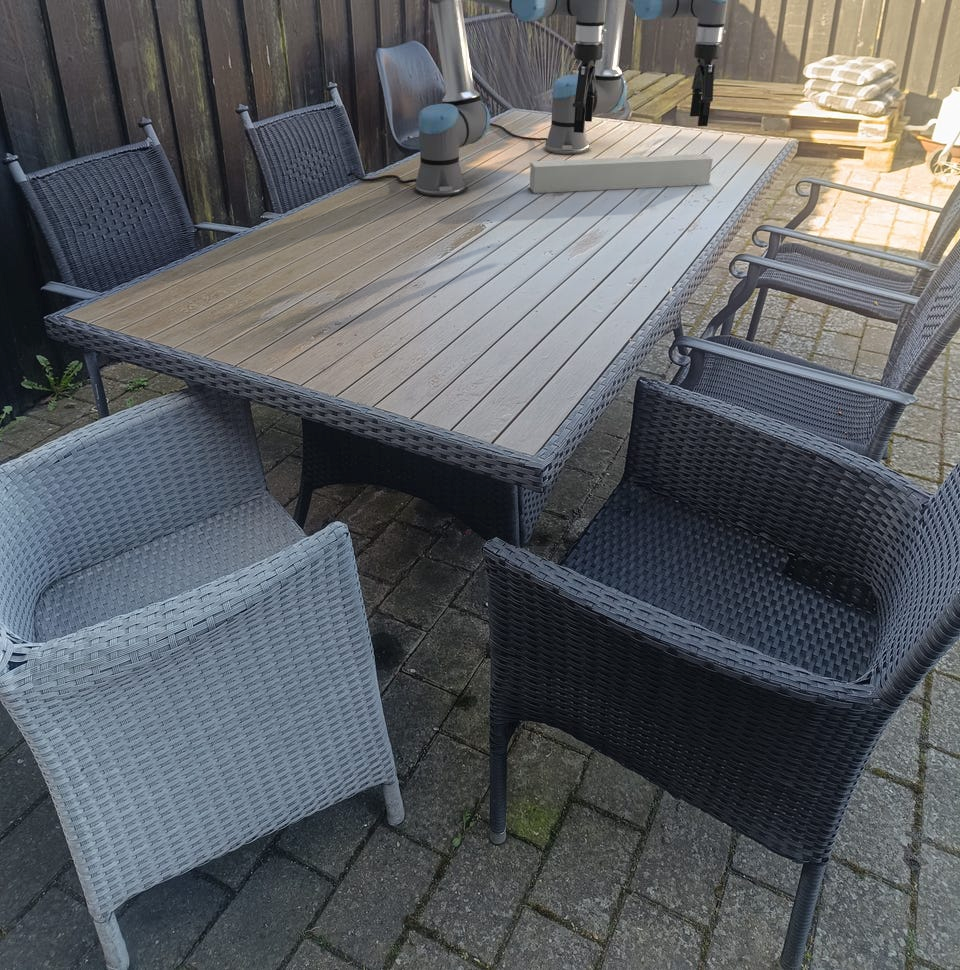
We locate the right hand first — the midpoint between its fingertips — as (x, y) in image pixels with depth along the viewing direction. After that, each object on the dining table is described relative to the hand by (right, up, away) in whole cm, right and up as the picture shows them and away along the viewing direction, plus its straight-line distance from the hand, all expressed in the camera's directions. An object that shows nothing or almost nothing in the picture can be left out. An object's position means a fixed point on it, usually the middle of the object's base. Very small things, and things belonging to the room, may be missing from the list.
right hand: (698, 121), depth 256 cm
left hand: (-38, -10, -19) cm, 43 cm away
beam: (-23, -18, +5) cm, 30 cm away
